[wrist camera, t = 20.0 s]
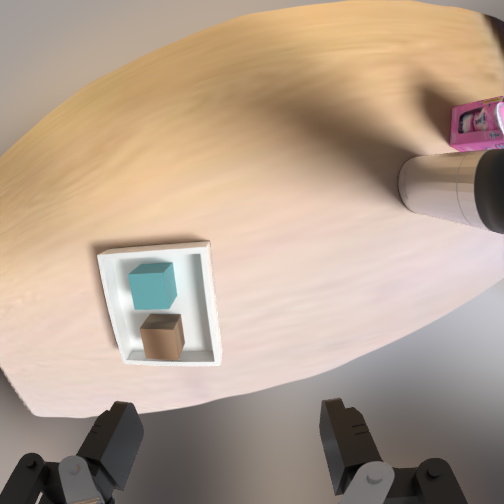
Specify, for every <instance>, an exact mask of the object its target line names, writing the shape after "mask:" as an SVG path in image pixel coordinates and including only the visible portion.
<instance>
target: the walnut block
mask: <svg viewBox="0 0 504 504" xmlns="http://www.w3.org/2000/svg"><path fill="white" fill-rule="evenodd" d="M140 334H141V338H142V343H143V347H144V352H145V356H146V358H148V359H164V360H179V358H180V355H181V352H182V350H183V347H184V344H185V339H184V332H183V325H182V318H181V314H150V315H149V316H148V317H147V319H146V320H145V322H144V323H143V324H142V326H141V327H140Z"/></svg>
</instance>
